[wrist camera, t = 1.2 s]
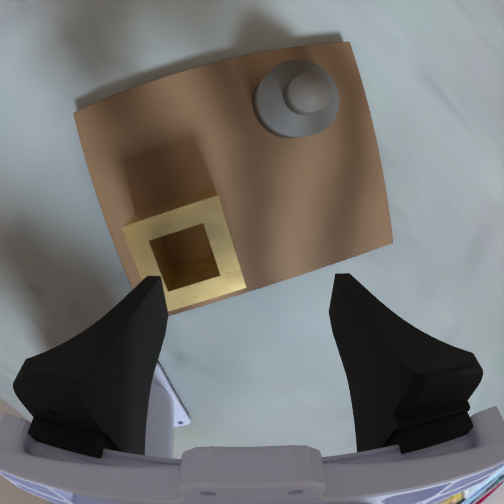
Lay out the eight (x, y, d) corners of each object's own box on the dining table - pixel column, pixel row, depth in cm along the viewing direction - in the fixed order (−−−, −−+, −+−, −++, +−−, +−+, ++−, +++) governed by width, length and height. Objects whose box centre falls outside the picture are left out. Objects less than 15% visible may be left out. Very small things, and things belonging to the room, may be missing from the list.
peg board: (149, 315, 24) (137, 361, 18) (78, 114, 19) (40, 104, 13) (386, 239, 25) (430, 262, 19) (343, 45, 20) (383, 20, 14)
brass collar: (163, 288, 22) (157, 314, 18) (135, 214, 20) (121, 227, 17) (238, 264, 23) (246, 287, 19) (215, 187, 21) (218, 195, 17)
